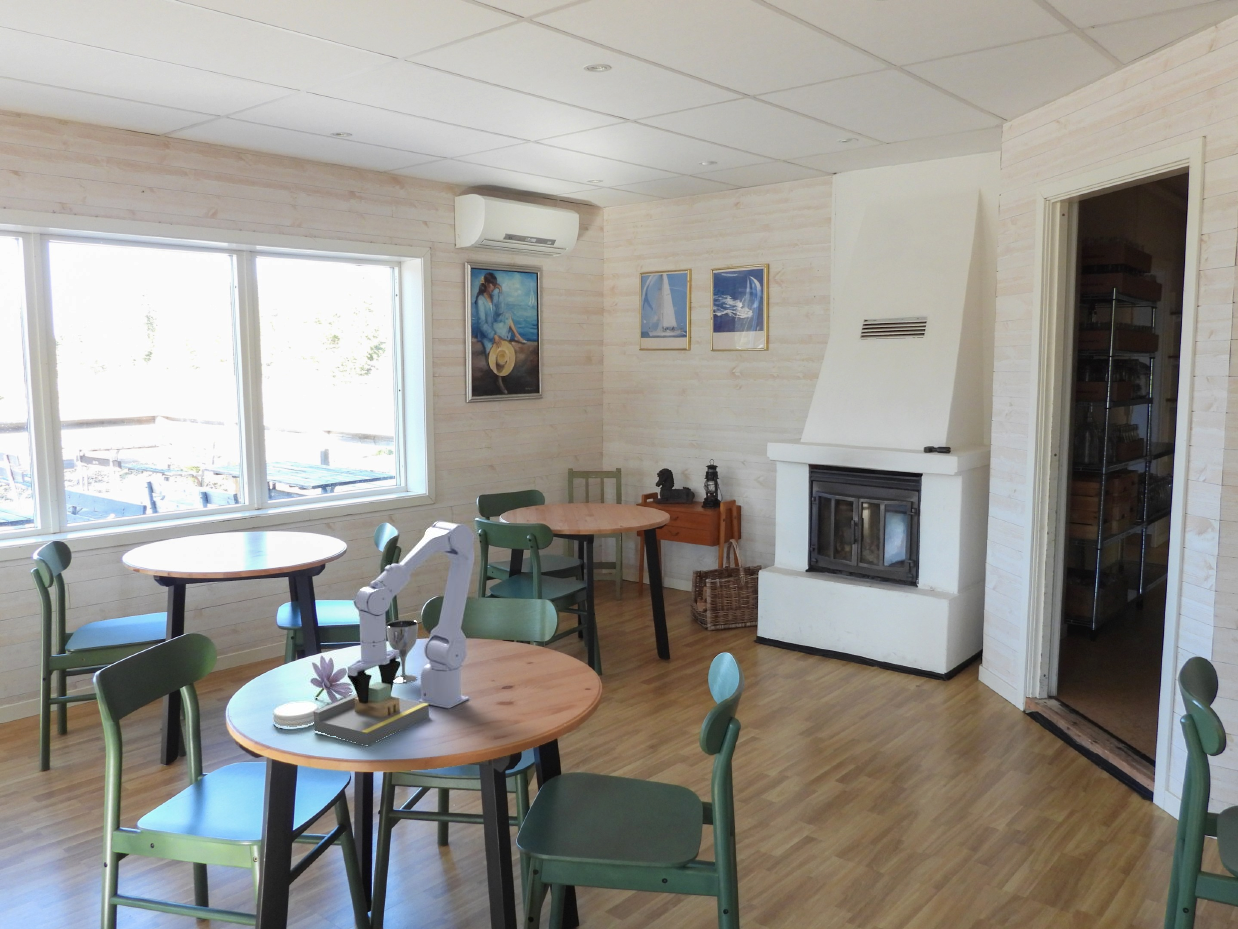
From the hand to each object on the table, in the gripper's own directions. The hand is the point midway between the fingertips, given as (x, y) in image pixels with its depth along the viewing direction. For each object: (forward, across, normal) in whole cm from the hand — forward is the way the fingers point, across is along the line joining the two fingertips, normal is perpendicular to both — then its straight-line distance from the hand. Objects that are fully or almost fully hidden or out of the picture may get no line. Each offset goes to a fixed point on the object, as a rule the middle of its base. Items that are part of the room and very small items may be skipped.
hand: (375, 697), depth 215 cm
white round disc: (+6, -8, +17) cm, 20 cm away
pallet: (+3, 0, 0) cm, 3 cm away
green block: (0, 0, -1) cm, 1 cm away
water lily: (+6, +6, +20) cm, 22 cm away
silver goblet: (+6, +27, +16) cm, 32 cm away
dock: (+6, -1, 0) cm, 6 cm away
